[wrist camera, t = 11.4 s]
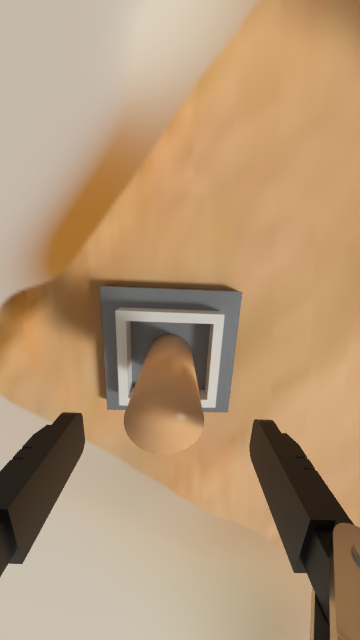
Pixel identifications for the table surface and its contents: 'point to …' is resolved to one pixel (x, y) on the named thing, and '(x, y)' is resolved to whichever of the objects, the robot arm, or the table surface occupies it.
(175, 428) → the brown peg
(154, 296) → the housing
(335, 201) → the table surface
